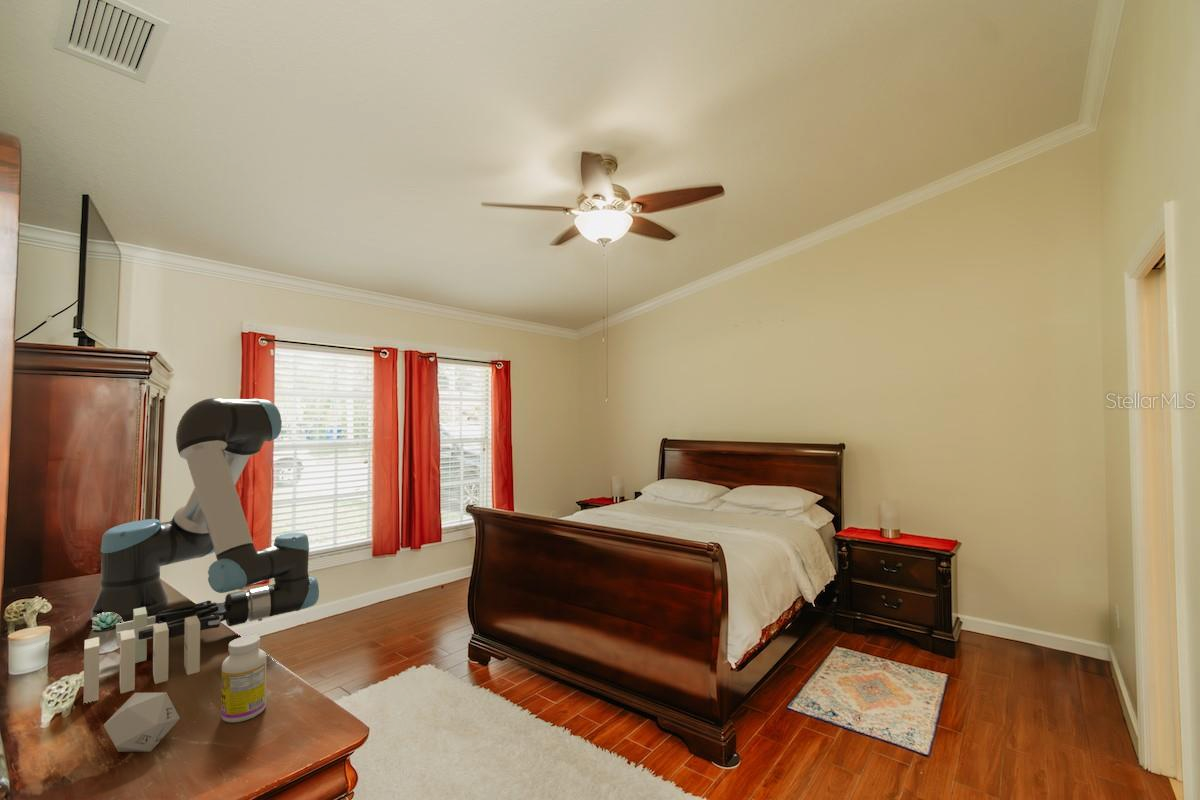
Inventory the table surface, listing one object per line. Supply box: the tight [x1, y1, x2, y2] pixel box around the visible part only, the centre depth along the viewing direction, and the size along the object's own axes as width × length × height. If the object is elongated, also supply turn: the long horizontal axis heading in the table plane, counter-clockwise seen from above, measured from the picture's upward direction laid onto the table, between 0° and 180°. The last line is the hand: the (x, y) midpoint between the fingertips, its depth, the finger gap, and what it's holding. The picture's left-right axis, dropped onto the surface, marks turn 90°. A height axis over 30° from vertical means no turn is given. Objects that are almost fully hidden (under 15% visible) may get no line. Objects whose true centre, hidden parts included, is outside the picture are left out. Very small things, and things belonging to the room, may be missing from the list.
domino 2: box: [119, 629, 136, 694], centre depth 102 cm, size 2×5×10 cm, turn 44°
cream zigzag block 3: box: [152, 622, 170, 685], centre depth 106 cm, size 2×5×10 cm, turn 44°
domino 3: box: [133, 607, 148, 664], centre depth 114 cm, size 2×5×10 cm, turn 44°
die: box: [102, 692, 181, 753], centre depth 84 cm, size 8×9×10 cm
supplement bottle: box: [220, 634, 267, 724], centre depth 93 cm, size 7×7×13 cm
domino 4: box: [183, 616, 201, 676], centre depth 109 cm, size 2×5×10 cm, turn 44°
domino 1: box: [82, 636, 100, 705], centre depth 99 cm, size 2×5×10 cm, turn 44°
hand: (116, 634), depth 111 cm, fingers closed on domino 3, 5 cm apart
